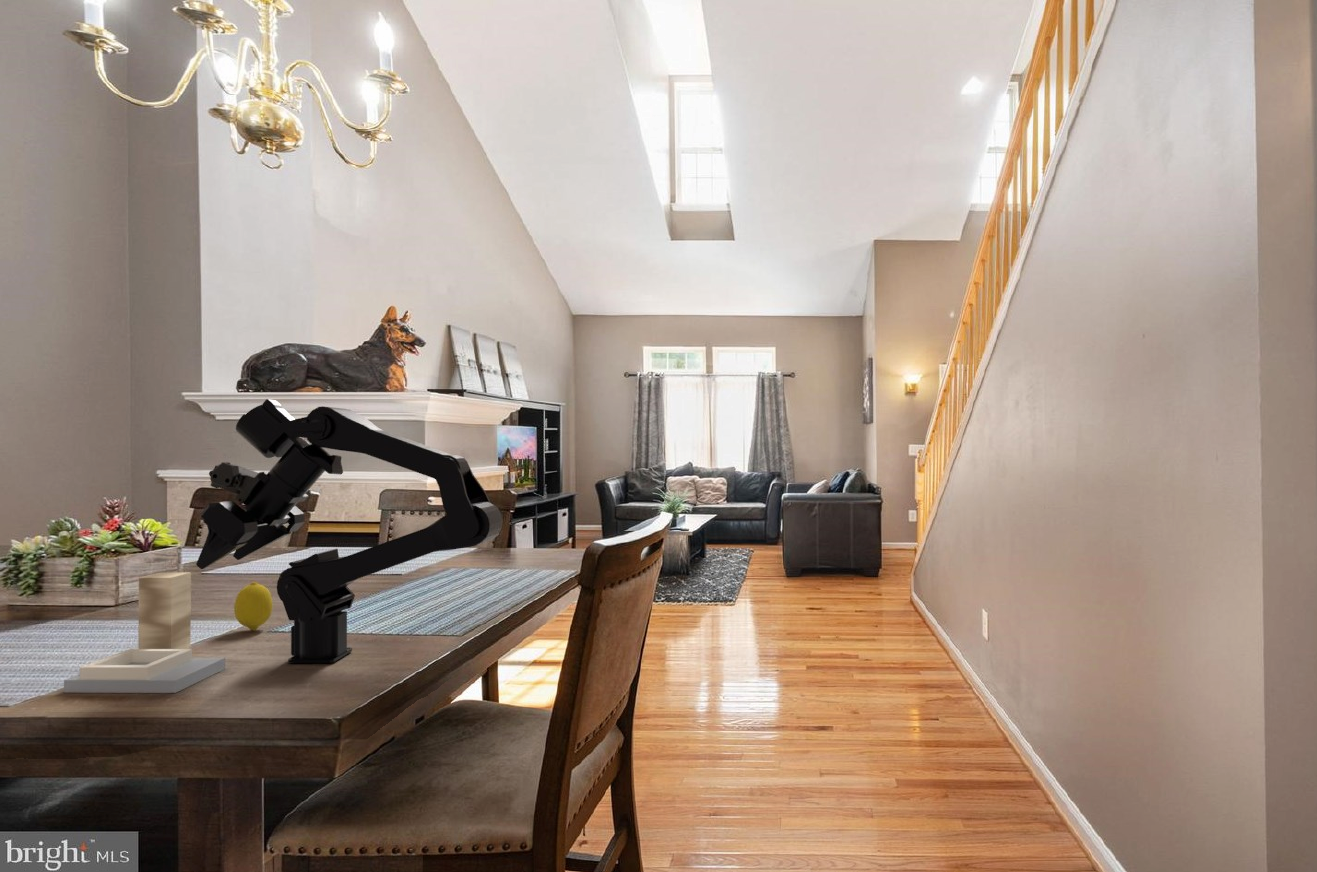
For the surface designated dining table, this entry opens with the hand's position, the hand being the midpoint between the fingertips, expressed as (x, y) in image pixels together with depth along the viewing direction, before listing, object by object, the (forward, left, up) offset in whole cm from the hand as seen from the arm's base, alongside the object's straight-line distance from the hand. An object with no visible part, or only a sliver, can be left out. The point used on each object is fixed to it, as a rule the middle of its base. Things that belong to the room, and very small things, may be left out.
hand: (218, 562), depth 107 cm
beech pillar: (+7, 0, -14) cm, 16 cm away
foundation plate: (+3, +10, -14) cm, 17 cm away
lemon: (+4, -17, -14) cm, 22 cm away
